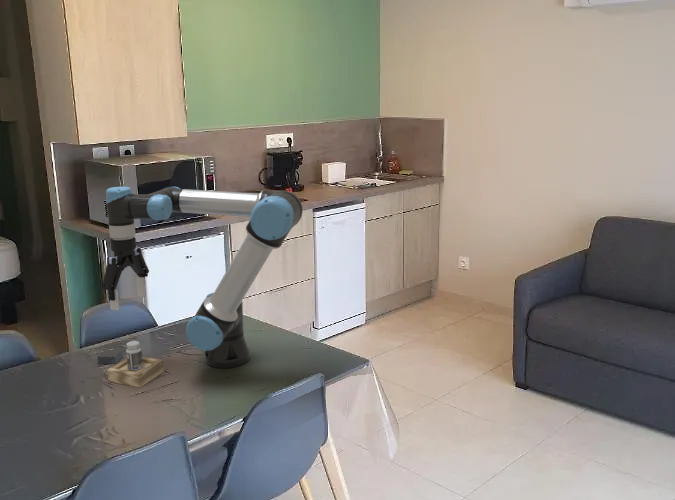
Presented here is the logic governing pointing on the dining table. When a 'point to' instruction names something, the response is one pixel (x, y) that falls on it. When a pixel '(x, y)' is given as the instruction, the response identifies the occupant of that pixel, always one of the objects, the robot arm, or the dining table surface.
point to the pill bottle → (134, 355)
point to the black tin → (110, 357)
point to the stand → (135, 372)
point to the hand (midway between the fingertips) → (128, 303)
